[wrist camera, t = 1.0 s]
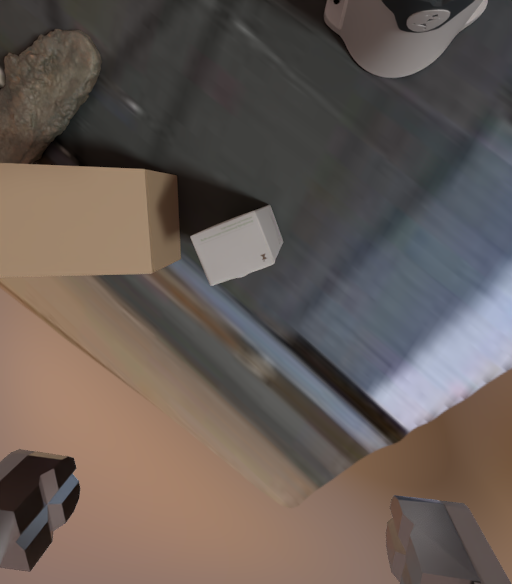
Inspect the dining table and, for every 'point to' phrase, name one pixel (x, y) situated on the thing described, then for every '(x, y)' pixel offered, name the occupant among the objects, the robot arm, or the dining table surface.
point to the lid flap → (73, 221)
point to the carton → (163, 218)
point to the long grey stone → (44, 92)
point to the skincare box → (238, 245)
